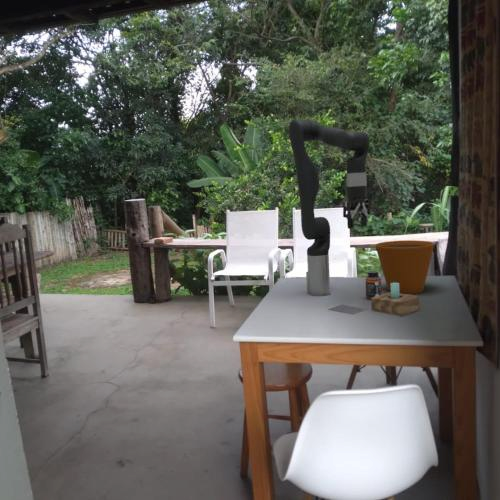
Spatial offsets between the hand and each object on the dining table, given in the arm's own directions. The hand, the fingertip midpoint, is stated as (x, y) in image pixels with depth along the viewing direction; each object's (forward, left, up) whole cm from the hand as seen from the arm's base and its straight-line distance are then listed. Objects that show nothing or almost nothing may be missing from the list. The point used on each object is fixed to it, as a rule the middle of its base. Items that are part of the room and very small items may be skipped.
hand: (357, 227), depth 187 cm
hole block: (+17, -2, -30) cm, 34 cm away
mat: (+3, -12, -30) cm, 32 cm away
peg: (+17, -2, -30) cm, 34 cm away
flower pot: (+2, +30, -30) cm, 43 cm away
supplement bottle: (+1, +8, -30) cm, 31 cm away
